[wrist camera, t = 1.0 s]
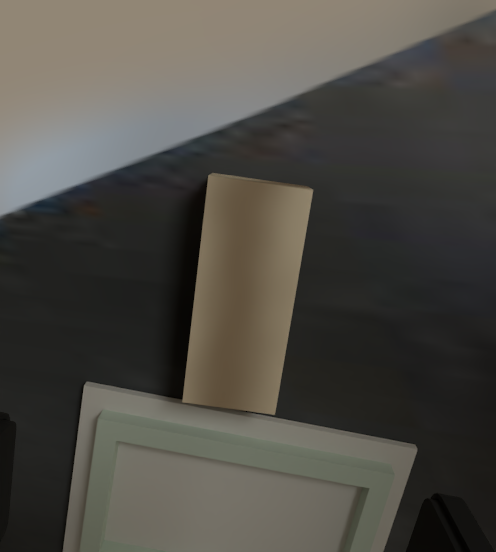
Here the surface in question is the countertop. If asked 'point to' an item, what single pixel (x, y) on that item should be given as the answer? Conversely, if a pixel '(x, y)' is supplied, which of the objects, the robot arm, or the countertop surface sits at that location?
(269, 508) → the white flat rectangular tray
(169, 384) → the countertop surface
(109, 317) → the countertop surface
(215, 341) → the birch tile
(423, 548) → the robot arm
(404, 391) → the countertop surface
